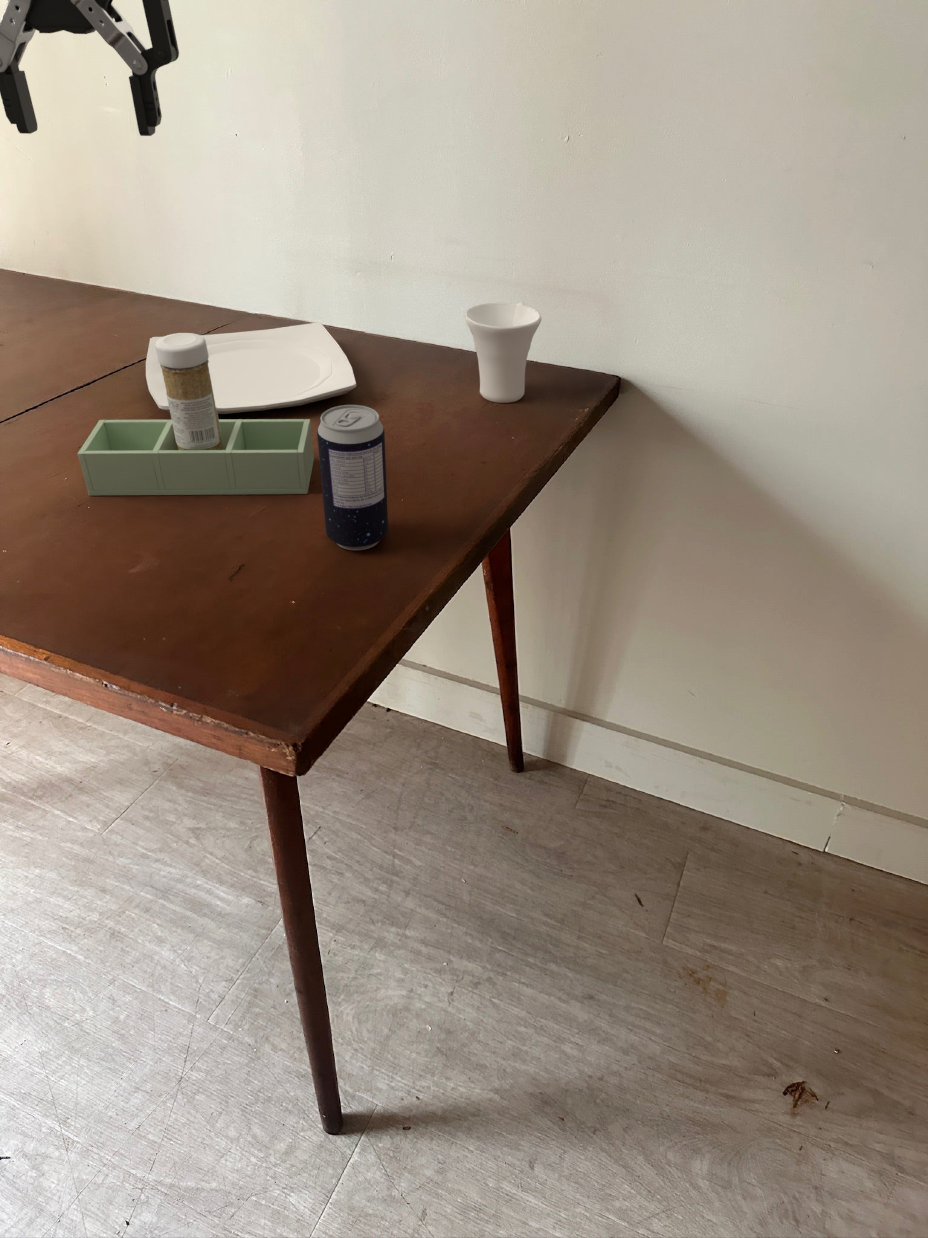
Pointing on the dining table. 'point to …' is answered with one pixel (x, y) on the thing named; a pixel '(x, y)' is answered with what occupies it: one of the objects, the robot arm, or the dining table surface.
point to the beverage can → (353, 476)
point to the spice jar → (189, 391)
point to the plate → (266, 369)
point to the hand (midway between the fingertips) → (89, 132)
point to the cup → (502, 347)
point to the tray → (198, 459)
